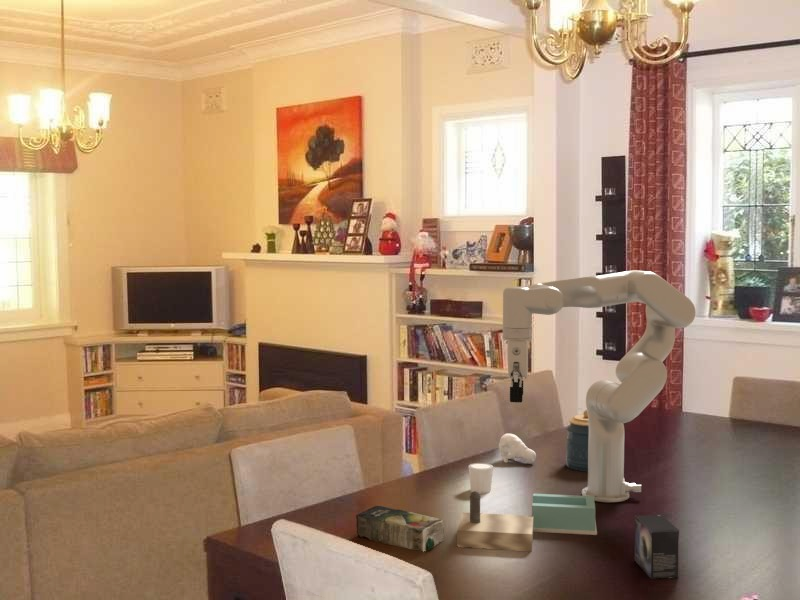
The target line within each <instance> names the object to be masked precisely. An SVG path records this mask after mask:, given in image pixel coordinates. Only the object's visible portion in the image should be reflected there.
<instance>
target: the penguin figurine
mask: <svg viewBox="0 0 800 600" xmlns="http://www.w3.org/2000/svg"><path fill="white" fill-rule="evenodd" d="M500 437H501V438H500V439H499V443H498V449H499V453H500V456H501V459H502V460H503V463H508V462H509V460H515V459H523V460H525V461H524V463H525V465H527V464H530V465H532V464H533V463H534V462H535V460H536V458H537V454H536V452H535V451H534V450H533V449H531V448H528V446H526V444H525V443H524V442H523V441H522V439H521V438H520V437H518V436H517V435H516V434H514V433H505V434H503V435H502V436H500Z"/></svg>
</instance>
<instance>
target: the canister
mask: <svg viewBox="0 0 800 600" xmlns="http://www.w3.org/2000/svg"><path fill="white" fill-rule="evenodd" d="M568 423H569V425H567V426H566V428H565V429H566V431H567V436H566V437H565V440H566V446H565V447H566V449H565V450H566V451H565V452H566V454H565V455H566V457H565V462H566V466H567V468H569V469H571V470H575V471H578V470H579V471H580V472H588V438H589V426H588V414H587V409H584V411H583V414H576V415H574V416H573V417H571V418H569V419H568ZM579 471H578V472H579Z"/></svg>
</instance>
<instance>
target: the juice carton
mask: <svg viewBox="0 0 800 600" xmlns="http://www.w3.org/2000/svg"><path fill="white" fill-rule="evenodd" d="M355 517H356V518H355V519H356V525H355V526H356V535H357V537H358V538H359V537H360V538H363V537H365V538H367V539H368V540H370V541H373V542H374V541H375V542H377V543H380V542H381V543H382V544H384V545H390V546H394V547H395V546H396V547H400V548H403V549H409V550H411V551H412V550H413V549H414V550H413V551H416V550H419V551H418V552H420V551H423V552H422V553H425V552H427V551H429V550H430V551H431V550H432V549H433V548H434V547H435V546H434V545H436V544H437V545H438V544H440V543H439V542H441V541H442V540H444V533H445V527H444V523H445V522H444V519H440V518H439V517H432V516H428V515H424V514H420V513H415V512H412V511H407V510H403V509H395V508H390V507H387V506H382V505H374V506H372V507H370V508H368V509H366V510H365V511H362V512H360V513H358V514H356V515H355ZM441 543H442V542H441ZM437 545H436V546H437ZM433 546H434V547H433ZM424 551H425V552H424Z"/></svg>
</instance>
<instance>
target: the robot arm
mask: <svg viewBox="0 0 800 600" xmlns="http://www.w3.org/2000/svg"><path fill="white" fill-rule="evenodd" d="M628 303H630V304H631V303H642V304H644V305H645V316H646V328H645V330H644V333H643V335H642V336H641V337H640V339H639V340H638V341H637V342H636V343H635V344H634V345H633V346H632V348H630V349H629V350H628V352H627V353H626V354H625V355H623V357H621V359H620V360H619V362H618V363H617V365H616V367H615V376H616V378H617V379H618V380H619V382H621V383H620V384H619V383H617V382H614V381H611V380H606V379H605V380H598V381H595V382H594V383H593V384H591V385H590V387H588V390H587V392H586V395H585V405H586V406H585V407H586V410H587V414H588V426H589V438H588V471H587V486H585V487H584V488H582V489H581V496H594V502H600V503H622V502H625V501H626V500H628V499H629V498H630V492H633V493H641V492H642V484H636V483H635V482H631V483H629V482H627V481H625V477H624V475H625V473H624V472H625V425H624V424H625V423H629V422H632V421H634V419H635V418H637V417H638V416H640V414H641V413H642V412H643V411H644V410H645V409H646V408H647V406H648V405H650V403H651V402H652V401H654V399H655V398H656V397H657V396H658V395H659V394H660V393H661V391H662V390H663V388H664V387H665V384H666V383H667V378H668V370H667V367H666V365H665V364H664V363H663V362H664V361H665V360H666V358H667V357H668V356H669V355H670V353H671V352H672V350H673V348H674V346H675V339H676V329H684V328H687V327H689V326H690V325H691V324H692V323H693V322H694V320H695V319H696V311H697V310H696V308H695V305H694V303H693V302H692V300H691V299H690V298H689V297H687V295H685V294H684V293H683V292H681V291H680V290H679V289H677V288H676V287H675V286H673V285H672V284H671V283H670V282H668V281H667V280H665V279H664V278H663V277H661V276H660V275H658V274H657V273H655V272H653V271H647V270H646V271H645V270H639V269H638V270H635V269H634V270H625V271H620V272H614V273H613V272H612V273H605V274H600V275H599V274H598V275H591V276H583V277H577V278H569V279H561V280H559V279H558V280H553V281H552V280H551V281H546V282H540V283H534V284H531V285H529V286H528V287H526V286H507V287H505V288H504V289H503V293H502V340H504V341H506V342H507V345H506V346H507V347H506V348H507V349H506V351H507V354H506V356H507V357H506V358H507V362H506V363H507V373H508V375H507V376H508V377H509V379H510V386H509V402H510V403H522V402H523V396H524V380H523V378H524V379H525V380H526V379H528V377H529V376H528V375H529V374H528V372H529V367H528V366H529V343H528V341H531V340H532V333H533V332H532V331H533V329H532V328H533V327H532V325H533V324H532V323H533V322H532V321H533V314H535V315H543V316H545V315H546V316H551V315H554V314H557V313H559V312H561V310H562V308H581V309H582V308H584V309H598V308H603V307H609V306H615V305H621V304H628Z"/></svg>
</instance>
